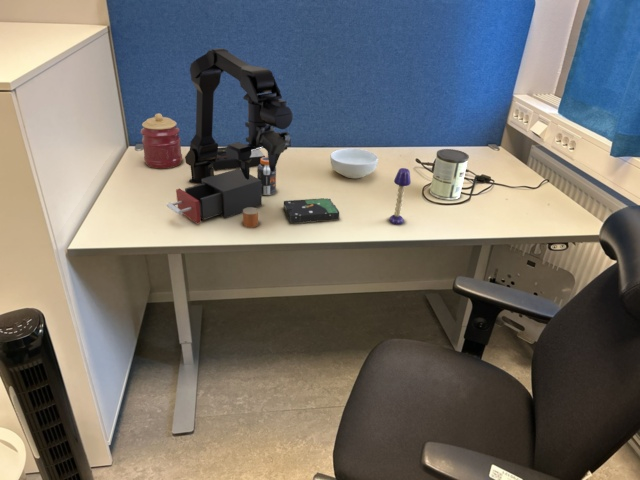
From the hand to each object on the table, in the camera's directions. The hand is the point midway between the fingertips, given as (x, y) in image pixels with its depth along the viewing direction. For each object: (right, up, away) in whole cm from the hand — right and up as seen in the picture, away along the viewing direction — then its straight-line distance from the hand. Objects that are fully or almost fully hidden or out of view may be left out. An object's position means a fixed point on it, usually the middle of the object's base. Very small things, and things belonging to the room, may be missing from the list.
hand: (260, 174), depth 131 cm
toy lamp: (+39, -13, +8) cm, 42 cm away
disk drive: (+14, -11, +9) cm, 20 cm away
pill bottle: (-1, -3, +21) cm, 22 cm away
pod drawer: (-18, -10, +4) cm, 21 cm away
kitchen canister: (-39, +10, +38) cm, 55 cm away
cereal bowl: (+29, +5, +38) cm, 48 cm away
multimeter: (-14, +11, +42) cm, 46 cm away
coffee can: (+59, -3, +28) cm, 66 cm away
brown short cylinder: (-3, -14, +2) cm, 14 cm away
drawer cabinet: (-10, -8, +12) cm, 17 cm away
